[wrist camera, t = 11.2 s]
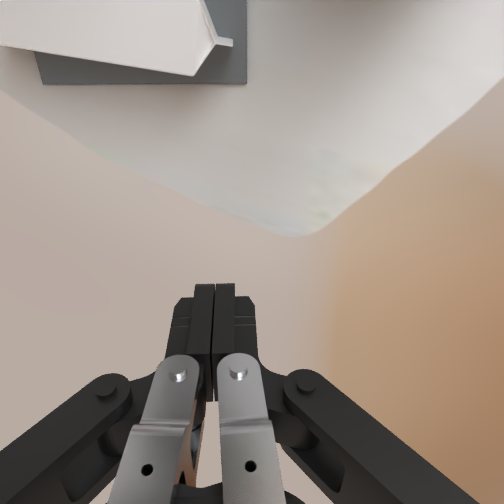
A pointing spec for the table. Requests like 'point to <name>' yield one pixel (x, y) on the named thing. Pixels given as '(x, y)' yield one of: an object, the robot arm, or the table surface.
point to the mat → (210, 72)
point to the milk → (114, 31)
